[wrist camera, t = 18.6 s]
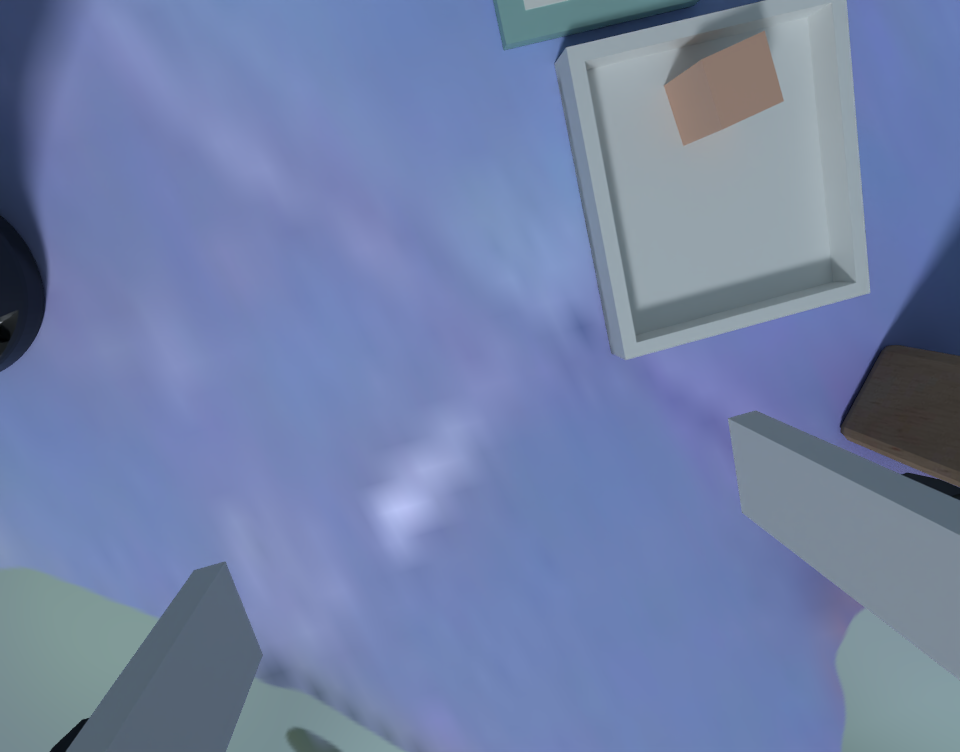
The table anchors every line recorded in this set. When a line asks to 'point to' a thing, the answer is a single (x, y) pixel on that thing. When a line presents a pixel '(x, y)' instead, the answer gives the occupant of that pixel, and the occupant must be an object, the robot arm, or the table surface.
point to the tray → (717, 178)
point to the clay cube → (724, 89)
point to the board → (570, 16)
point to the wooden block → (911, 411)
